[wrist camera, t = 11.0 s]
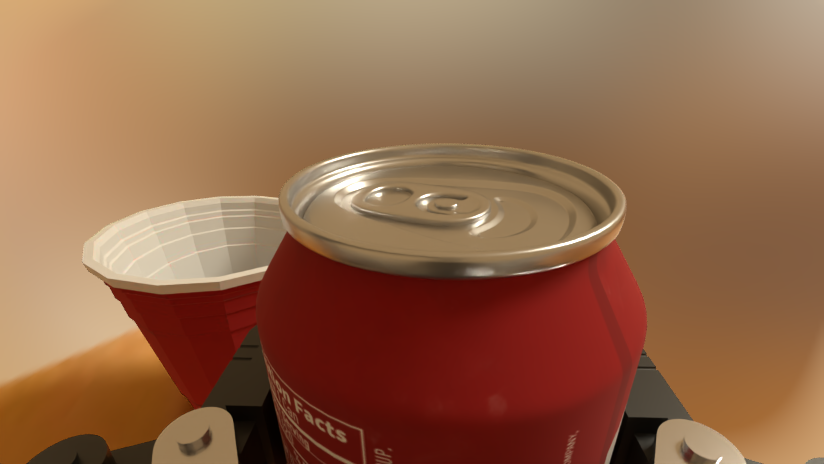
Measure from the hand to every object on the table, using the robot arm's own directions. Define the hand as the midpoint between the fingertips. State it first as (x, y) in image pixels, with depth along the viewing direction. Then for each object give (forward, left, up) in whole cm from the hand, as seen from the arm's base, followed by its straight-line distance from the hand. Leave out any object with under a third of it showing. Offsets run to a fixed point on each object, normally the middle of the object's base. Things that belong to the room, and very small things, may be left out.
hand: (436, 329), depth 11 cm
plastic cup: (-2, +13, -13) cm, 19 cm away
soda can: (-1, -2, -7) cm, 8 cm away
